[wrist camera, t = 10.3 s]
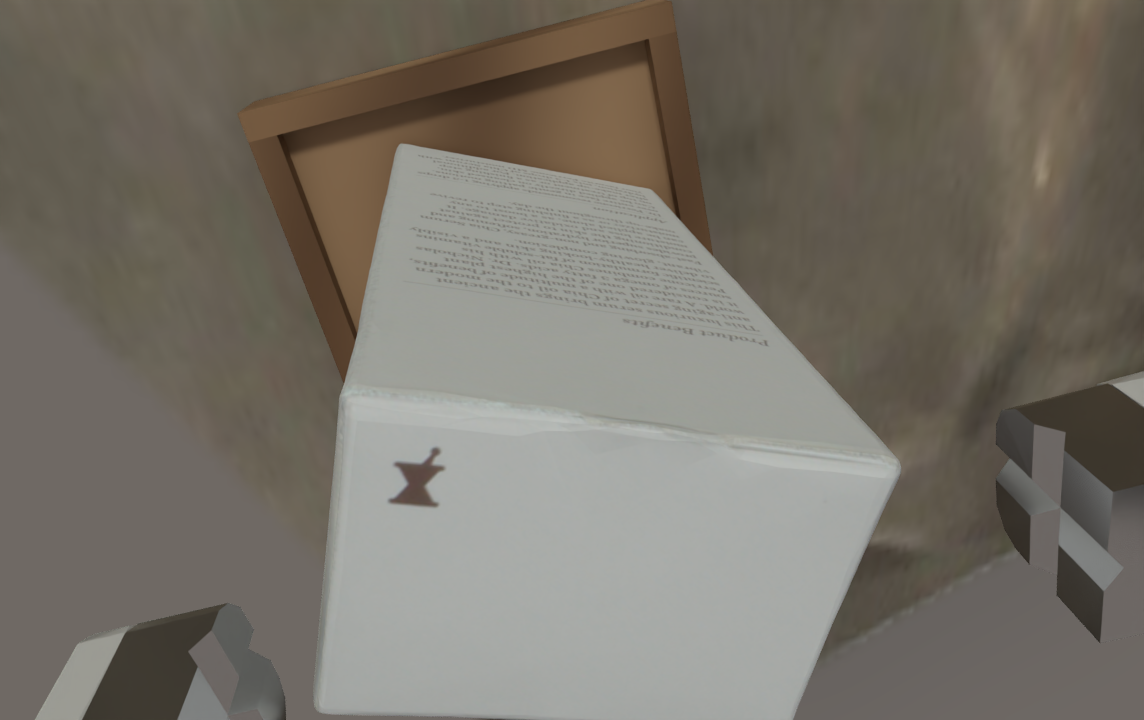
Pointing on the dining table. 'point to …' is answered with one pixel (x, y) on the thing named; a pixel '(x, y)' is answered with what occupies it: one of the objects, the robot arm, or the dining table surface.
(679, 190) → the walnut tray
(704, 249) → the skincare box
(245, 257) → the dining table surface
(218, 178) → the dining table surface
